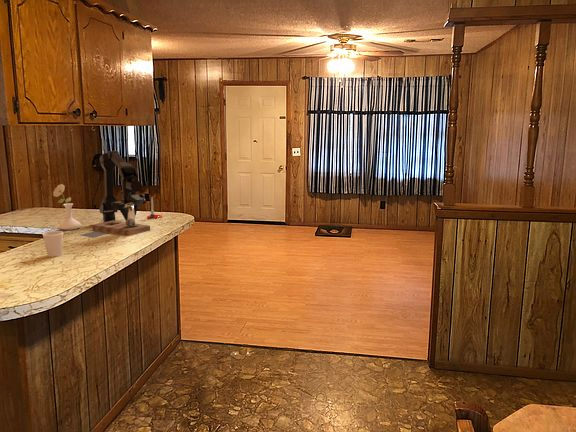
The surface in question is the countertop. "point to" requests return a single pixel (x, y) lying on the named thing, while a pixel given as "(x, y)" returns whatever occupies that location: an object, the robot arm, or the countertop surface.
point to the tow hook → (153, 211)
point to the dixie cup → (53, 242)
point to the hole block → (121, 227)
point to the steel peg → (130, 216)
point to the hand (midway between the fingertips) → (130, 219)
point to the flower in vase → (69, 221)
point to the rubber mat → (94, 234)
